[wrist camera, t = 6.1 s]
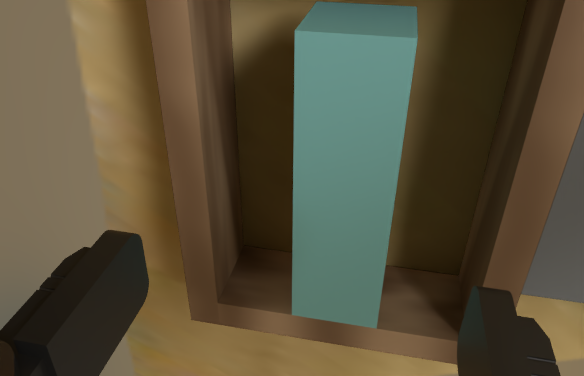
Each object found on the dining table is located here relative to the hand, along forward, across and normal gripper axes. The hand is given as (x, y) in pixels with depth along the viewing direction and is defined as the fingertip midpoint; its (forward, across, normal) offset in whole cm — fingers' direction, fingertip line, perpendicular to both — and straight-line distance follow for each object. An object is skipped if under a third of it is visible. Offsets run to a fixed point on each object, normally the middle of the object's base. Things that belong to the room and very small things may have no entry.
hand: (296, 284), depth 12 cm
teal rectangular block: (+13, 0, +3) cm, 14 cm away
